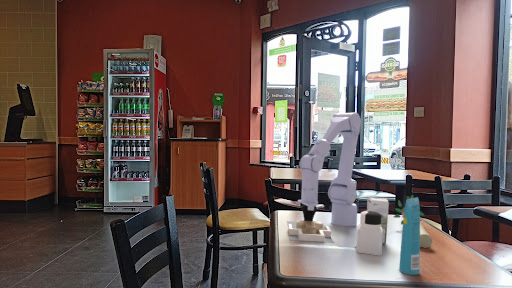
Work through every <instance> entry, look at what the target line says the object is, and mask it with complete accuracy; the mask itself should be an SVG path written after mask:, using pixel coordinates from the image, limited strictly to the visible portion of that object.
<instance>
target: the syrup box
mask: <svg viewBox="0 0 512 288" xmlns="http://www.w3.org/2000/svg"><path fill="white" fill-rule="evenodd" d="M366 201H367V203H366V204H367V205H366V206H367V207H366V211H374V212H378V213H380V214H381V227H382V228H383V235H382V245H386V244H387V234H388V219H389V218H388V217H389V205H390V202H389V200H388V199H387V198H384V197H370V196H369V197H367V200H366Z"/></svg>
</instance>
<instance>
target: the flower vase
mask: <svg viewBox="0 0 512 288" xmlns="http://www.w3.org/2000/svg"><path fill="white" fill-rule="evenodd" d="M405 197H406V198H405V199H406V200H408V199H413V198H415V197H414V194H412V195H410V196H407V195H406V196H405ZM397 205H398V207H402V202H401V201H400V200H399V199H398V201H397ZM419 209H421V207H420V206H419ZM394 210H395V211H396V212H397V213H400V214H394V216H393V218H395V219H397V218H399V219H400V218H403V219H404V211H405V207H402V209H400V208H394ZM420 216H422V217H425V213H423V212H422V211H420ZM403 219H402V220H401V221H400V225H402V226H403ZM422 221H423V220H422V219H421V218H420V248H421V247H424V248H423V249H426V248H429V247H431V245H432V244H433V239H432V236H431V235H430V234H429V233H428V232H427V230H426V229H425V227H424V226H423V224H422Z"/></svg>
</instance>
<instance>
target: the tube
mask: <svg viewBox="0 0 512 288" xmlns="http://www.w3.org/2000/svg"><path fill="white" fill-rule="evenodd" d="M404 206H405V211H404V218H403V219H402V220H403V224H402V229H401V230H402V231H401V243H400V244H401V245H400V254H399V256H400V257H399V264H398V268H399V271H400V272H401V273H402V272H403V273H402V274H405V275H410V276H411V275H412V276H414V275H420V268H421V267H420V265H421V263H420V262H421V261H420V257H421V247H420V222H421V221H420V219H421V215H420V212H421V208H419V207H420V200H419V197H418V196H417V197H414V198H413V199H406V200H405V205H404Z"/></svg>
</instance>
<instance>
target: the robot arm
mask: <svg viewBox="0 0 512 288" xmlns="http://www.w3.org/2000/svg"><path fill="white" fill-rule="evenodd" d="M361 127H362V119H361V116H360V115H359V113H358V112H335V113H333V114H332V116H331V118H330V125H329V127H328V128H327V130H326V132H325V133H324V135H323V137H322V138H320V139H317V140H315V142H314V145H312V147H311V148H310V151H308V153H307V154H305V155H303V156H302V157H301V158H300V160H299V162H298V163H299V164H298V165H299V169H300V170H301V171H300V172H301V173H300V174H301V175H302V176H301V179H302V180H301V199H298V200H297V203H301V204H302V205H301V206H300V209H301V211H302V215H303V221H314V217H315V215H316V212H317V211H318V207H317V205H318V204H319V201H318V199H319V198H318V197H319V195H318V192H319V173H320V171H321V170H322V169H323V167H324V161H325V158H326V157H327V155H328V154H329V152H330V151H331V149H332V148H331V143H332V142H333V141H334V140H335V139H336V138H337V136H338V135H341V136H342V139H343V140H342V146H341V153H340V158H339V165H338V169H337V176H336V177H335V178H333V179H332V180H331V182H330V186H329V187H328V191H327V196H328V198H329V199H330V202H331V222H330V223H331V224H332V225H334V226H341V227H343V226H344V227H349V226H350V227H357V226H358V225H357V222H358V207H357V204H356V203H354V202H355V200H356V199H357V184H356V183H355V182H354V181H353V179H352V177H353V169H354V163H355V158H356V151H357V144H358V138H359V135H360V132H361Z"/></svg>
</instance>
